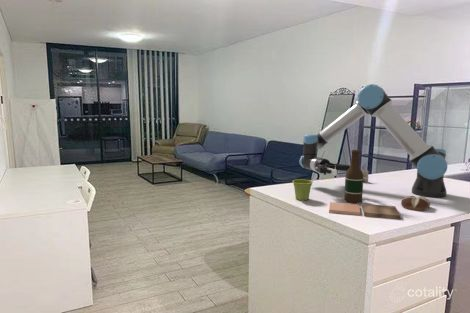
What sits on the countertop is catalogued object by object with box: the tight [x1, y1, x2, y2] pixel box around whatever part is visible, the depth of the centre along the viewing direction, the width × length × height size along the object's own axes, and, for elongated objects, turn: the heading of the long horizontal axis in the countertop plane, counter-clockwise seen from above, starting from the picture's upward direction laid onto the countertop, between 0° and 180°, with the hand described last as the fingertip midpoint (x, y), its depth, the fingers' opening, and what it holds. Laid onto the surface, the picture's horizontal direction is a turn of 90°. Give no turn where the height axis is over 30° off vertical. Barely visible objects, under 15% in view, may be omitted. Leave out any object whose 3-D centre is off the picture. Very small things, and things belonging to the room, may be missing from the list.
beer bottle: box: [343, 149, 364, 204], centre depth 150 cm, size 8×8×24 cm
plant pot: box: [292, 178, 314, 202], centre depth 155 cm, size 9×9×9 cm
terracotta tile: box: [328, 201, 361, 216], centre depth 138 cm, size 12×12×1 cm
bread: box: [400, 195, 431, 212], centre depth 142 cm, size 11×11×5 cm
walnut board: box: [361, 203, 401, 220], centre depth 134 cm, size 13×13×2 cm
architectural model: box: [361, 169, 369, 184], centre depth 193 cm, size 3×7×7 cm, turn 51°
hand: (348, 171), depth 153 cm, fingers open, 13 cm apart
